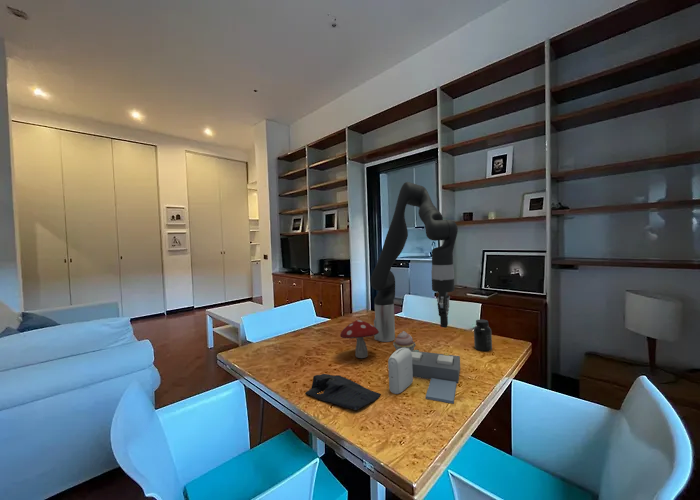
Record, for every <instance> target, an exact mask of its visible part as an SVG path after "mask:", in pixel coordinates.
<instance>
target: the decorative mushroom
mask: <svg viewBox="0 0 700 500" xmlns="http://www.w3.org/2000/svg"><path fill="white" fill-rule="evenodd" d="M378 333H379V331H378V329H376V328H375V327H374V324H373V325H372V324H371V323H369V322H366V321H364V320H361V319H357V320H354V321H352V322H351V323H349V324H347V325H346V326H345V327H344V328H343V329H342V330H341V331H340V333H339V336H340V338H341V339H356V344H355V357H356V358H357V359H365V358H367V357H368V355H369V354H368V352H369V351H368V346H367V344H366V342H365V338H369V337H373V336H374V335H377V334H378Z"/></svg>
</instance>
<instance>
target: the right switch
mask: <svg viewBox="0 0 700 500" xmlns="http://www.w3.org/2000/svg"><path fill="white" fill-rule="evenodd" d="M437 363H438V364H446V365H453V356H445V355H439V356H438V359H437Z"/></svg>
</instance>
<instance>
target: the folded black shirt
mask: <svg viewBox="0 0 700 500" xmlns="http://www.w3.org/2000/svg"><path fill="white" fill-rule="evenodd" d="M310 388H311V389H309V390H307V391H305V394H308V395H310V396H309V397H313V398H315V399H317V400H319V401H322V402H325V403H331V404H333V405H336V406H337V407H338V406H340V407H341V408H342V407H343V409H347V410H348V409H349V410H354V411H358V410H360V409H361V408H363V407H365V406H367V405H369V404H371V403H374V402H375V401H377V400H378V399H379V398H380V396H381V395H382V394H381V393H379V392H376V391H374V390H371V389H369V388H367V387H365V386H362V385H361V384H359V383H357V382H355V381H353V380H351V379H349V378H347V377H344V376H341V375H340V374H339V375H336V374H335V375H331V374H330V373H329V374H328V373H321V374H315V375H313V378H312V384H311V387H310ZM321 391H323V392H321ZM319 392H320V393H319ZM317 393H319V394H317ZM308 395H307V396H308Z"/></svg>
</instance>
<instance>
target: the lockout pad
mask: <svg viewBox="0 0 700 500" xmlns="http://www.w3.org/2000/svg"><path fill="white" fill-rule="evenodd" d="M456 390H457V383H456V382H455V381H448V380H441V379H435V378H431V379H430V381H429V384H428V387H427V391H426V394H425V400H429V401H430V400H431V401H437V402H441V403H446V404H447V403H448V404H455V398H456Z"/></svg>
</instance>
